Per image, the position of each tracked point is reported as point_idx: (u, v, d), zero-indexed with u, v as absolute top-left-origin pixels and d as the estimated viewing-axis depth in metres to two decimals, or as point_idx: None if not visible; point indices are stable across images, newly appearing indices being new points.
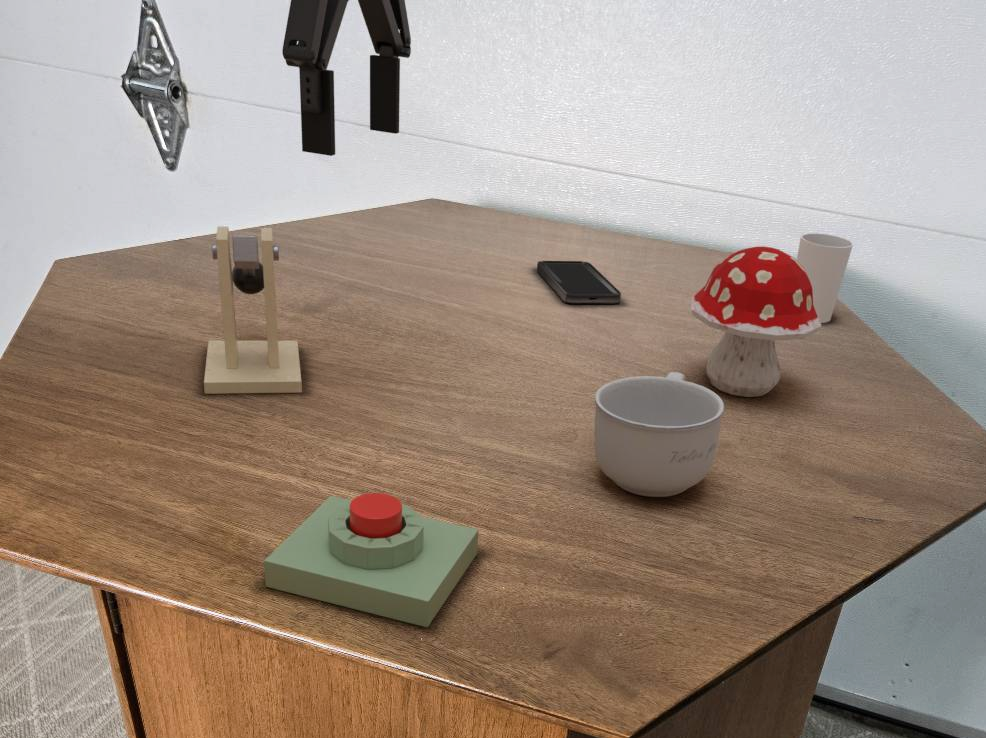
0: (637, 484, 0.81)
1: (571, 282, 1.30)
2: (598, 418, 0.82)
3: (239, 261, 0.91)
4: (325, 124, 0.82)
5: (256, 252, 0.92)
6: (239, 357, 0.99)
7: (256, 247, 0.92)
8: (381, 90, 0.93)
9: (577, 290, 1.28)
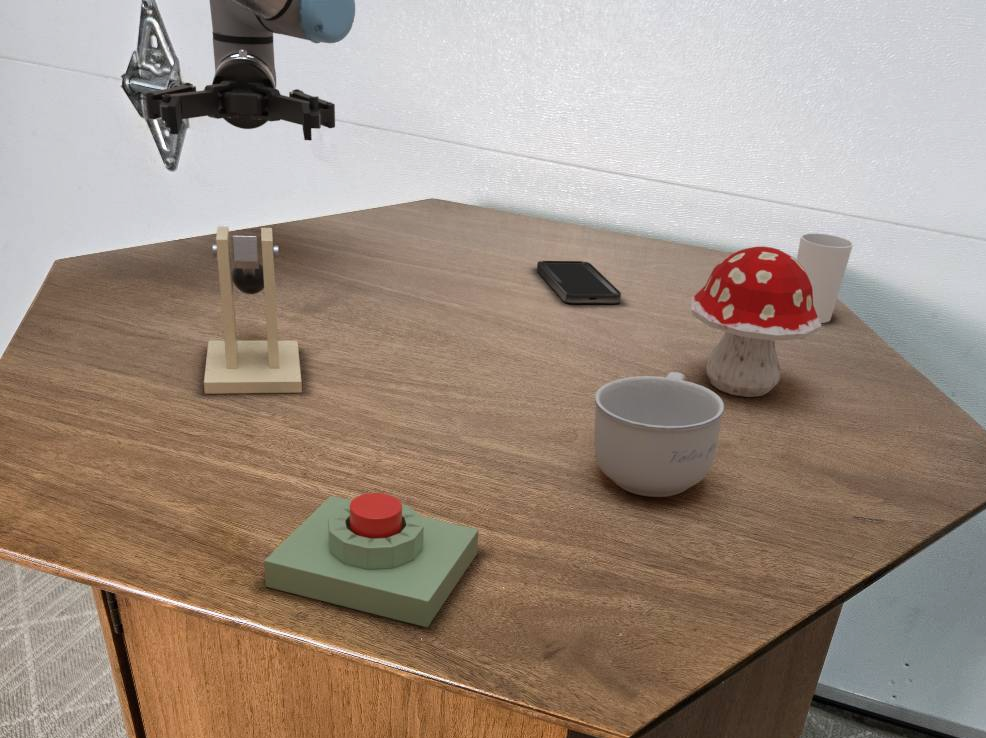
0: (637, 484, 0.81)
1: (571, 282, 1.30)
2: (598, 418, 0.82)
3: (239, 261, 0.91)
4: None
5: (256, 252, 0.92)
6: (239, 357, 0.99)
7: (256, 247, 0.92)
8: None
9: (577, 290, 1.28)
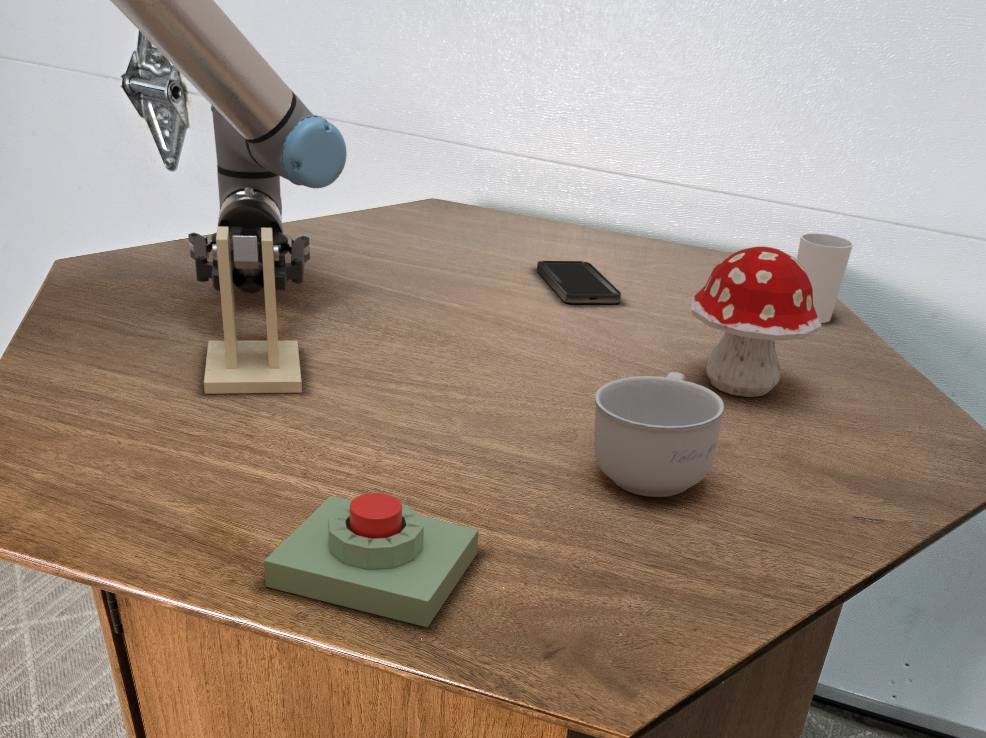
0: (637, 484, 0.81)
1: (571, 282, 1.30)
2: (598, 418, 0.82)
3: (239, 261, 0.91)
4: None
5: (256, 252, 0.92)
6: (239, 357, 0.99)
7: (256, 247, 0.92)
8: None
9: (577, 290, 1.28)
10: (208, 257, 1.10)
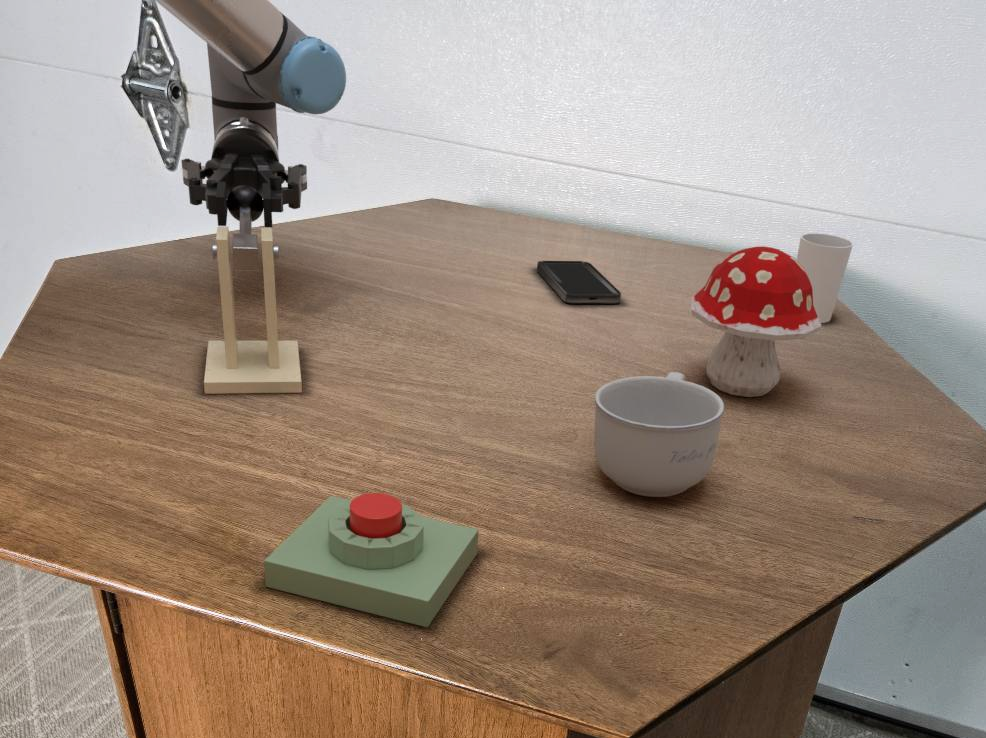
0: (637, 484, 0.81)
1: (571, 282, 1.30)
2: (598, 418, 0.82)
3: (240, 270, 0.92)
4: None
5: (257, 263, 0.92)
6: (239, 357, 0.99)
7: (257, 258, 0.92)
8: None
9: (577, 290, 1.28)
10: None
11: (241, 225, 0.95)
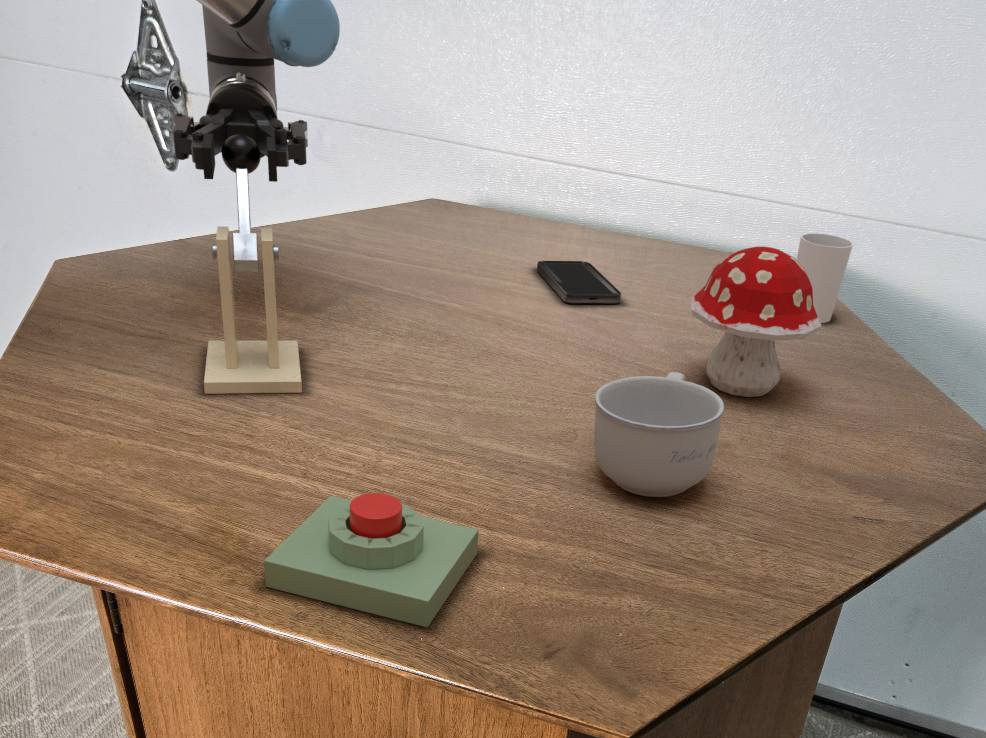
0: (637, 484, 0.81)
1: (571, 282, 1.30)
2: (598, 418, 0.82)
3: None
4: None
5: (257, 267, 0.93)
6: (239, 357, 0.99)
7: (257, 265, 0.93)
8: None
9: (577, 290, 1.28)
10: None
11: (239, 206, 0.93)
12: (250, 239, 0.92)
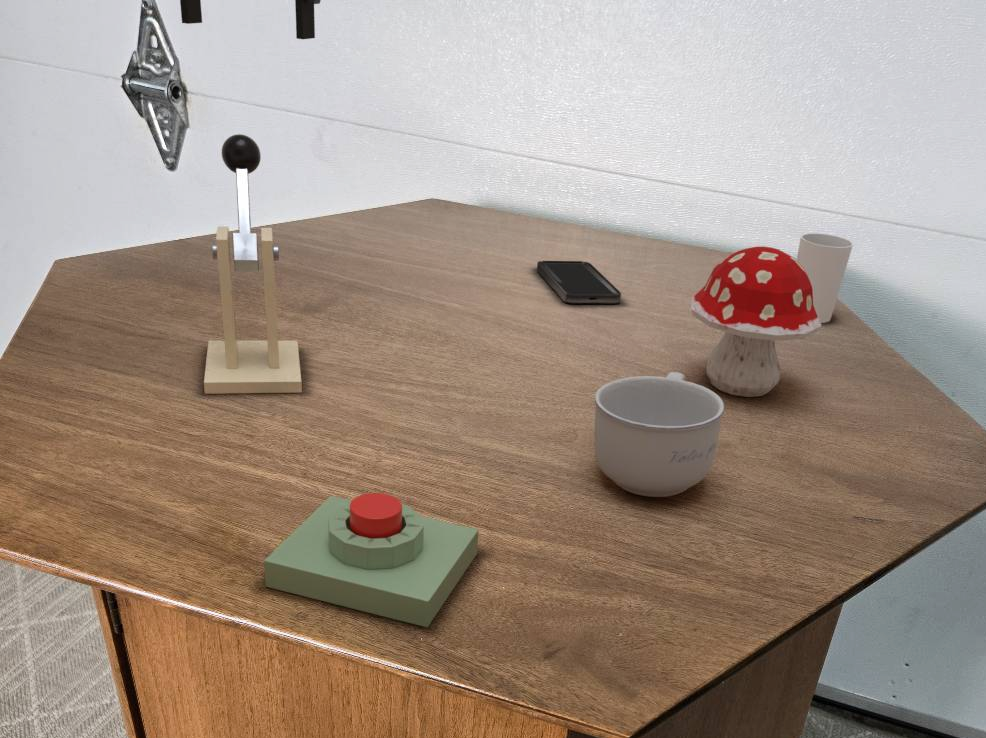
0: (637, 484, 0.81)
1: (571, 282, 1.30)
2: (598, 418, 0.82)
3: None
4: None
5: (257, 267, 0.93)
6: (239, 357, 0.99)
7: (257, 265, 0.93)
8: None
9: (577, 290, 1.28)
10: None
11: (239, 206, 0.93)
12: (250, 239, 0.92)
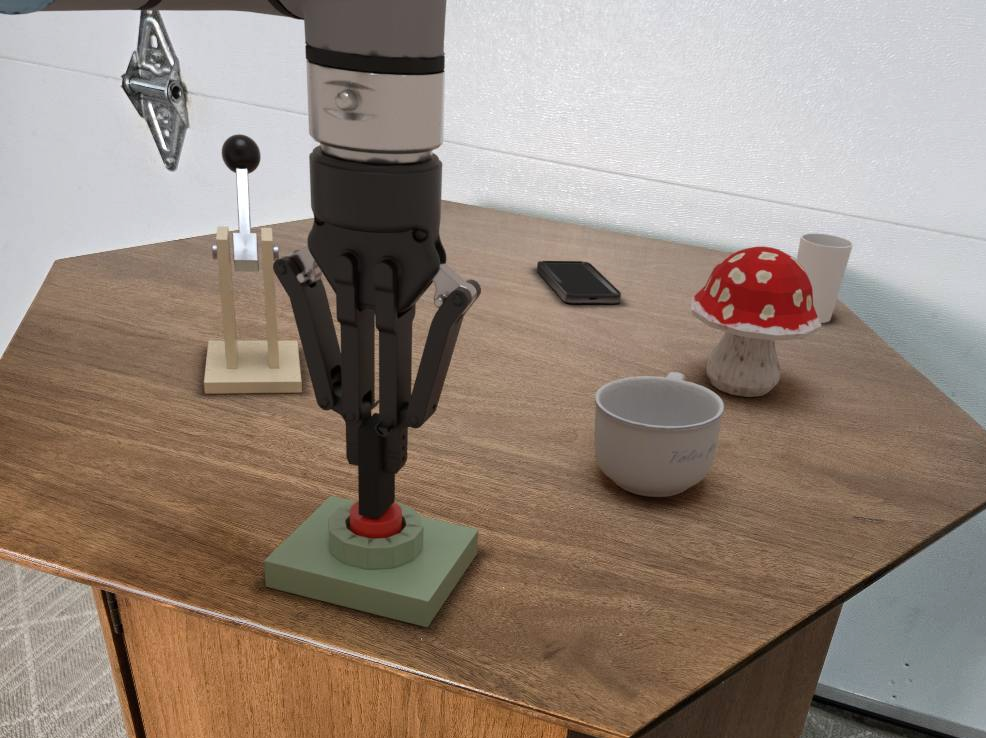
0: (637, 484, 0.81)
1: (571, 282, 1.30)
2: (598, 418, 0.82)
3: None
4: None
5: (257, 267, 0.93)
6: (239, 357, 0.99)
7: (257, 265, 0.93)
8: None
9: (577, 290, 1.28)
10: None
11: (239, 206, 0.93)
12: (250, 239, 0.92)
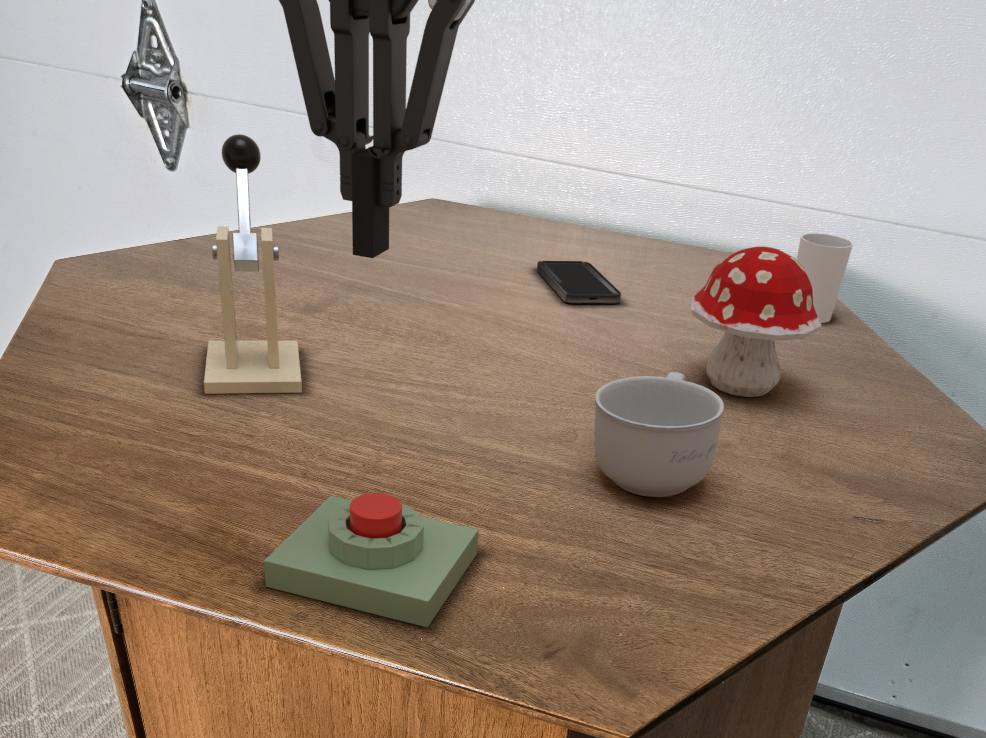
0: (637, 484, 0.81)
1: (571, 282, 1.30)
2: (598, 418, 0.82)
3: None
4: None
5: (257, 267, 0.93)
6: (239, 357, 0.99)
7: (257, 265, 0.93)
8: None
9: (577, 290, 1.28)
10: None
11: (239, 206, 0.93)
12: (250, 239, 0.92)
